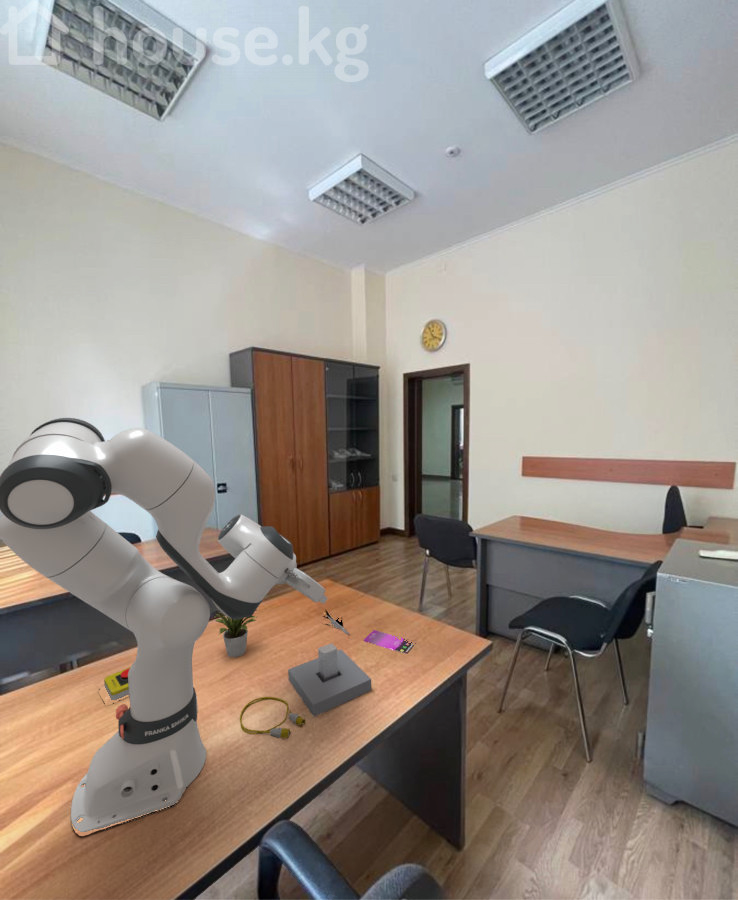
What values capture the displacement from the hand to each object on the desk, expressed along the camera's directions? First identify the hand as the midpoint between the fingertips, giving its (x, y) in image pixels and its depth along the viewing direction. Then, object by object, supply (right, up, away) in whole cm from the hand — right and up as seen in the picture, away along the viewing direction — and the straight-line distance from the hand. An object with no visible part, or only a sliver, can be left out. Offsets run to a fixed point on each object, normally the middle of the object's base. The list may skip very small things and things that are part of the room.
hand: (315, 594), depth 99 cm
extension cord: (-9, -26, -9) cm, 29 cm away
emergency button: (-49, -27, +5) cm, 56 cm away
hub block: (+3, -25, +3) cm, 25 cm away
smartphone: (+20, -23, +22) cm, 38 cm away
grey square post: (+3, -25, +3) cm, 25 cm away
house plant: (-26, -25, +17) cm, 40 cm away
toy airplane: (+2, -23, +35) cm, 42 cm away
